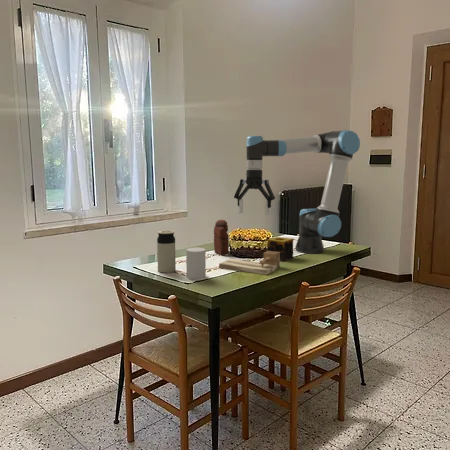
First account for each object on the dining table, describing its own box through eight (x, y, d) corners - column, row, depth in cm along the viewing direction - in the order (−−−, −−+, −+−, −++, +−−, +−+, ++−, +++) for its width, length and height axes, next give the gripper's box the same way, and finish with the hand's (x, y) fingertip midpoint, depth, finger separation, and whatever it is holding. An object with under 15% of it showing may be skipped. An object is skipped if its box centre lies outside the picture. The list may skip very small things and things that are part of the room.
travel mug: (178, 269, 207) (178, 230, 204) (170, 273, 200) (170, 233, 197) (162, 267, 210) (162, 229, 207) (154, 272, 203) (153, 232, 200)
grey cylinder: (191, 273, 200) (191, 246, 198) (208, 275, 197) (208, 248, 195) (183, 278, 193) (183, 250, 191) (200, 280, 190) (200, 252, 188)
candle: (283, 261, 222) (284, 241, 221) (265, 258, 229) (266, 239, 227) (293, 258, 231) (294, 238, 229) (276, 255, 237) (276, 236, 235)
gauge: (267, 265, 216) (267, 250, 215) (279, 266, 213) (279, 252, 212) (255, 271, 204) (255, 256, 203) (267, 273, 201) (267, 257, 200)
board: (230, 262, 220) (230, 258, 219) (276, 269, 208) (276, 265, 208) (219, 267, 210) (219, 263, 210) (266, 274, 199) (266, 270, 198)
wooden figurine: (231, 255, 236) (232, 220, 233) (220, 256, 233) (220, 221, 231) (222, 250, 247) (222, 217, 244) (211, 251, 244) (211, 218, 241)
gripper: (227, 169, 216) (227, 213, 220) (276, 169, 205) (275, 216, 209) (233, 168, 223) (233, 211, 226) (282, 169, 212) (281, 214, 215)
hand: (254, 213), depth 218 cm, fingers open, 13 cm apart
